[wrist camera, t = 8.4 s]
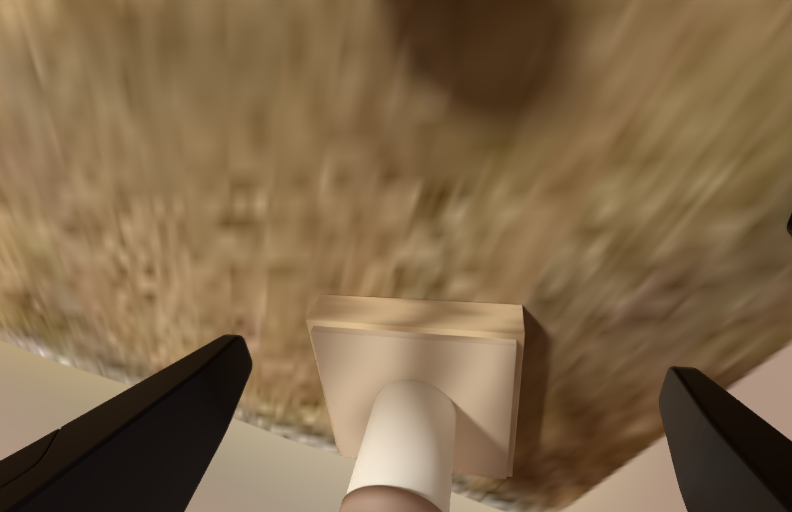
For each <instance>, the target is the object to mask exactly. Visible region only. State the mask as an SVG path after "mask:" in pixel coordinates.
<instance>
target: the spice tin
mask: <svg viewBox="0 0 792 512" xmlns="http://www.w3.org/2000/svg"><path fill="white" fill-rule="evenodd" d="M456 420H457V412H456V408H455V406H454V404H453V402H452V401H451V399H450V398H449V397H448V396H447V395H446V394H445V393H443V392H442V391H441V390H439V389H437V388H436V387H434V386H431V385H429V384H426V383H423V382H418V381H410V380H404V381H397V382H393V383H390V384H388V385H386V386H384V387H383V388H382V389H381V390H380V391H379V392H378V393H377V395H376V397H375V401H374V404H373V407H372V411H371V414H370V417H369V421H368V424H367V427H366V431H365V434H364V437H363V441H362V444H361V448H360V451H359V454H358V458H357V461H356V464H355V468H354V471H353V474H352V478H351V481H350V484H349V488H348V491H347V494H346V496H345V497H344V499H343V501H342V504H341V507H340V511H339V512H449V507H450V494H451V483H452V470H453V458H454V445H455V432H456Z"/></svg>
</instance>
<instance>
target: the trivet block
mask: <svg viewBox="0 0 792 512" xmlns="http://www.w3.org/2000/svg"><path fill="white" fill-rule="evenodd" d="M306 322H307V326H308V330H309V334H310V338H311V343H312V347H313V351H314V355H315V359H316V363H317V367H318V371H319V375H320V380H321V384H322V388H323V392H324V396H325V400H326V404H327V408H328V412H329V416H330V421H331V425H332V429H333V433H334V437H335V441H336V445H337V449H338V452H339V453H340V456H344V457H351V458H358V454H359V451H360V448H361V444H362V441H363V437H364V434H365V431H366V427H367V424H368V421H369V417H370V414H371V411H372V407H373V404H374V401H375V397H376V395H377V393H378V392H379V391H380V390H381V389H382V388H383V387H384V386H386V385H388V384H390V383H393V382H397V381H404V380H410V381H418V382H423V383H426V384H429V385H431V386H434V387H436V388H437V389H439V390H441V391H442V392H443V393H445V394H446V395H447V396H448V397H449V398H450V399H451V401H452V402H453V404H454V406H455V408H456V412H457V420H456V432H455V445H454V458H453V470H452V472H456V473H463V474H470V475H477V476H484V477H491V478H498V479H505V480H506V476H509V477H512V472H513V461H514V450H515V439H516V427H517V416H518V405H519V394H520V382H521V371H522V360H523V349H524V337H525V331H524V321H523V310H522V305H512V304H493V303H474V302H454V301H435V300H415V299H396V298H377V297H357V296H338V295H321V296H320V298H319V300H318V301H317V303H316V304H315V306H314V308H313V309H312V311H311V312H310V314H309V316H308V317H307V319H306Z"/></svg>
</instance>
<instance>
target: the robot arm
mask: <svg viewBox="0 0 792 512" xmlns="http://www.w3.org/2000/svg"><path fill="white" fill-rule="evenodd" d="M787 229H788V231H789V232H791V233H792V214H791V217H790V219H789V221H788V224H787ZM251 370H252V359H251V356H250V353H249V350H248V348H247V345H246V342H245V339H244V338H243V337H242V336H240V335H230V334H227V335H223V336H221V337H219V338H218V339H216V340H214V341H212V342H211V343H209V344H207V345H205V346H203V347H202V348H200V349H198V350H196V351H195V352H193V353H191V354H189V355H188V356H186V357H184V358H182V359H180V360H179V361H177V362H175V363H173V364H172V365H170V366H168V367H166V368H165V369H163V370H161V371H159V372H157V373H156V374H154V375H152V376H150V377H149V378H147V379H145V380H143V381H142V382H140V383H138V384H136V385H135V386H133V387H131V388H129V389H127V390H126V391H124V392H122V393H120V394H119V395H117V396H115V397H113V398H112V399H110V400H108V401H106V402H104V403H103V404H101V405H99V406H97V407H96V408H94V409H92V410H90V411H89V412H87V413H85V414H83V415H81V416H80V417H78V418H76V419H74V420H73V421H71V422H69V423H67V424H66V425H64V426H62V427H61V429H57V430H55V431H53V432H51V433H50V434H48V435H46V436H44V437H43V438H41V439H39V440H37V441H36V442H34V443H32V444H30V445H28V446H26V447H25V448H23V449H21V450H19V451H17V452H16V453H14V454H12V455H10V456H8V457H6V458H5V459H3V460H1V461H0V512H184V511H185V510H186V508H187V506H188V504H189V502H190V500H191V498H192V496H193V494H194V492H195V491H196V489H197V487H198V485H199V483H200V481H201V479H202V477H203V475H204V473H205V471H206V470H207V468H208V466H209V464H210V462H211V460H212V458H213V456H214V454H215V453H216V451H217V449H218V447H219V445H220V443H221V441H222V439H223V437H224V435H225V433H226V431H227V429H228V426H229V424H230V422H231V420H232V417H233V415H234V412H235V410H236V408H237V405H238V403H239V400H240V398H241V395H242V393H243V390H244V388H245V385H246V383H247V381H248V378H249V376H250V373H251ZM659 408H660V412H661V417H662V421H663V425H664V429H665V433H666V437H667V441H668V445H669V449H670V453H671V457H672V461H673V465H674V469H675V473H676V477H677V481H678V485H679V488H680V491H681V494H682V497H683V500H684V503H685V506H686V509H687V511H688V512H792V441H791V440H789V439H788V438H787V437H785V436H784V435H783V434H781V433H780V432H779V431H778V430H776V429H775V428H774V427H772V426H771V425H770V424H768V423H767V422H766V421H765V420H763V419H762V418H761V417H759V416H758V415H757V414H755V413H754V412H753V411H752V410H750V409H749V408H748V407H746V406H745V405H744V404H742V403H741V402H740V401H739V400H737V399H736V398H735V397H733V396H732V395H731V394H729V393H728V392H727V391H725V390H724V389H723V388H722V387H720V386H719V385H718V384H716V383H715V382H714V381H712V380H711V379H710V378H709V377H707V376H706V375H705V374H703V373H702V372H701V371H699V370H698V369H696V368H692V367H678V366H673V367H670V368H669V369H668V371H667V374H666V377H665V380H664V383H663V386H662V389H661V393H660V396H659Z"/></svg>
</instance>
